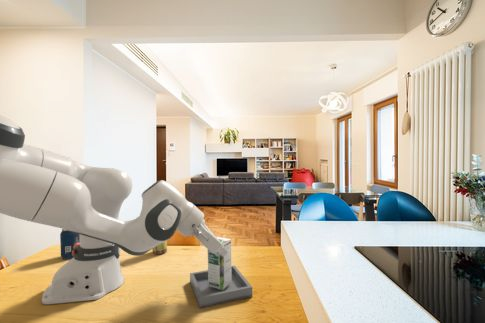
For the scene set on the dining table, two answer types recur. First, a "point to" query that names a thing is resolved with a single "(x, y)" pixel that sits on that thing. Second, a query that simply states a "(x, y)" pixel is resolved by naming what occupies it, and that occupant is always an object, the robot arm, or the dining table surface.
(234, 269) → the tray
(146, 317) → the dining table surface
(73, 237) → the soda can
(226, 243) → the syrup box
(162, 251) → the sauce bottle
